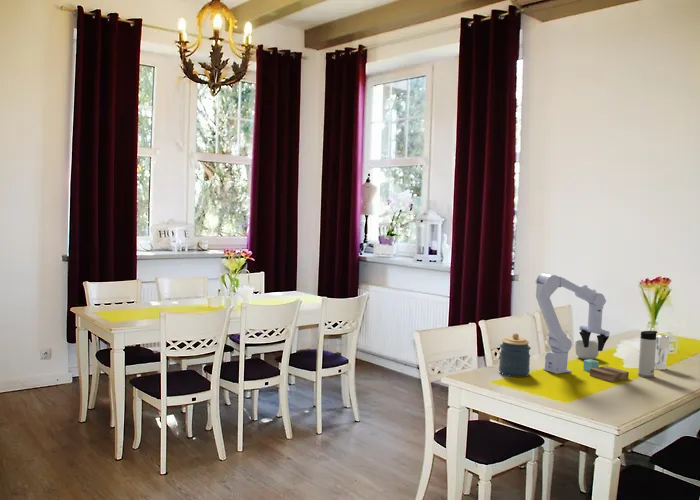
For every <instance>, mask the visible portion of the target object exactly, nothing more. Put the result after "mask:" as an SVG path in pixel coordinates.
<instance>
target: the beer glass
mask: <svg viewBox="0 0 700 500" xmlns="http://www.w3.org/2000/svg"><path fill="white" fill-rule="evenodd" d="M669 351H670V336H668V335H665V334H664V335H663V334H656V351H655V367H654V370H656V371H657V370H658V371H666V370H667V357H668V354H669Z"/></svg>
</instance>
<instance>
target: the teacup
mask: <svg viewBox="0 0 700 500" xmlns="http://www.w3.org/2000/svg"><path fill="white" fill-rule="evenodd" d="M599 352H600V351H598V341H595V340H589V346H588V347H586V348H585V347H584V344H583V340H582V339H577V340H576V341H575V355H576V356H577V357H578V358H579V359H580V360H583V361H584V360H589V359H591V360H595V359H596V358H597V357H598V356H599V354H600V353H599Z"/></svg>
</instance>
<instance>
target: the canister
mask: <svg viewBox="0 0 700 500" xmlns="http://www.w3.org/2000/svg"><path fill="white" fill-rule="evenodd" d="M501 342H502V343H501V344H499V348H500V352H499V364H498V365H499V366H498V372H499V371H500V372H501V373H503V374H506V375H510V376H509V377H511V376H525V377H528V376H529V374H530V372H531V371H530V370H531V369H530V362H531V359H530V358H531V354H530V350H531V346H530V345H529V344H530V341H528V340H527V339H526V338H523V337H520V336H519V334H518V333H513V334H512V336H506V337H505V338H503V339H502V340H501ZM500 372H499V373H500ZM501 373H500V374H501ZM503 374H502V375H503ZM506 375H505V376H506ZM527 375H528V376H527Z"/></svg>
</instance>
